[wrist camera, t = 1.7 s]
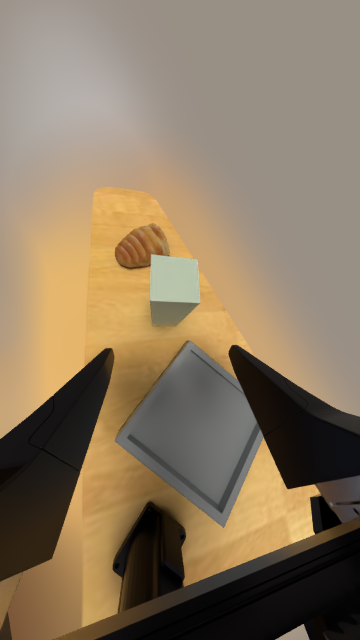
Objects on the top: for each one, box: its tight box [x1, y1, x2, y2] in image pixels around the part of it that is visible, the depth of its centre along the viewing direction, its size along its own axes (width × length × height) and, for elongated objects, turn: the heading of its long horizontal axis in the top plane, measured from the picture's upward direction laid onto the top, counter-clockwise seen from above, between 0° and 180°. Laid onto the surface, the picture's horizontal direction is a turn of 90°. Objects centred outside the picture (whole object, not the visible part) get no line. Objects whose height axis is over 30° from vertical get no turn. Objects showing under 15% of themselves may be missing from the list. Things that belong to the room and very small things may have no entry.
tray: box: [115, 341, 264, 528], centre depth 19 cm, size 16×18×2 cm
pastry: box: [115, 224, 170, 268], centre depth 22 cm, size 9×7×4 cm
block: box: [150, 254, 200, 326], centre depth 16 cm, size 4×4×12 cm
